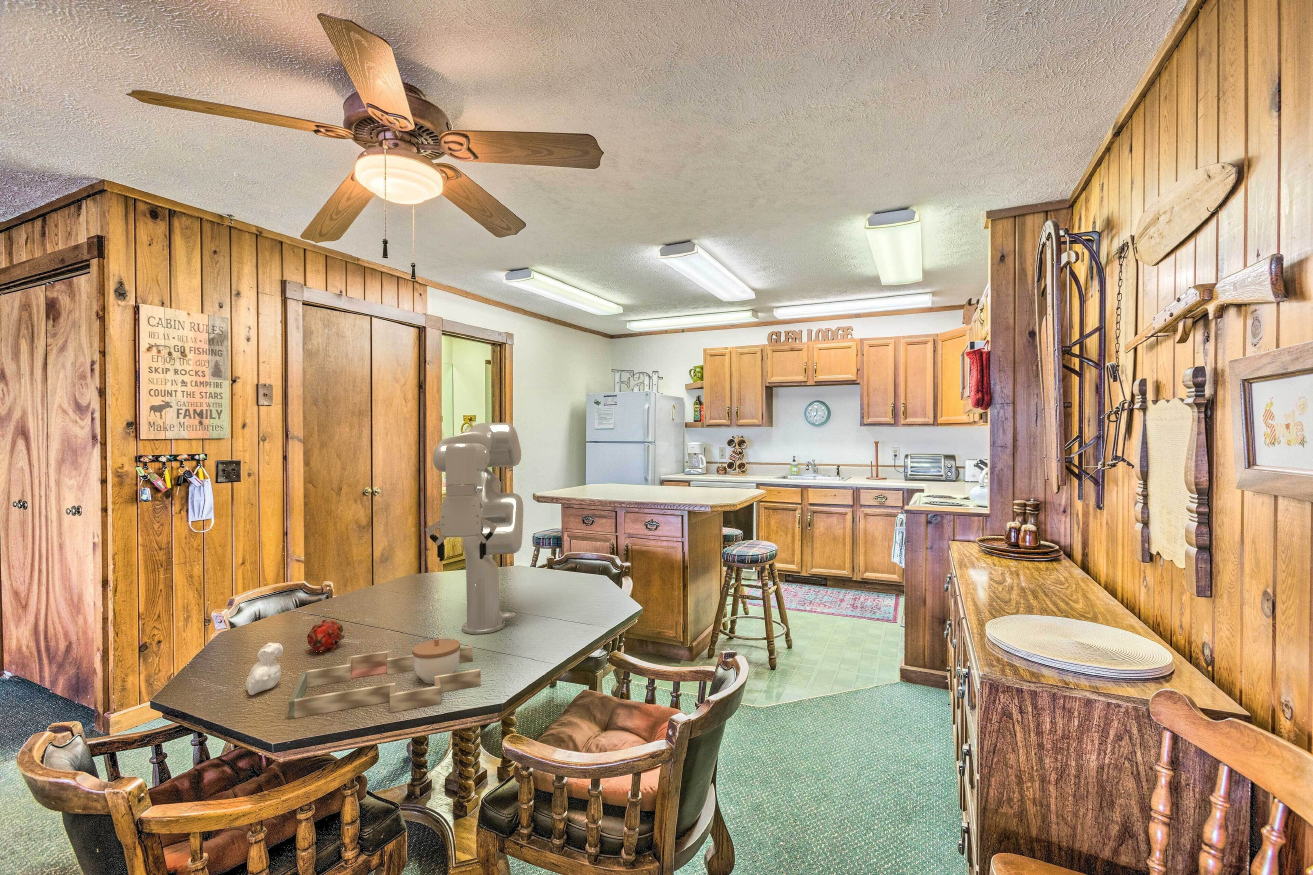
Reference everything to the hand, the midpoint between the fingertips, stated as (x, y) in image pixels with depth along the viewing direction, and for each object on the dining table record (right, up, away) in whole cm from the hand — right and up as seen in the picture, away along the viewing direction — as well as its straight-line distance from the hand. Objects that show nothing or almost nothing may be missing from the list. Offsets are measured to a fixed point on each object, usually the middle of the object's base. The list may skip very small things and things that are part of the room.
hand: (462, 559), depth 150 cm
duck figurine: (-42, -28, -12) cm, 52 cm away
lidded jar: (-3, -27, -9) cm, 28 cm away
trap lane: (-12, -27, -13) cm, 32 cm away
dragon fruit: (-42, -28, +13) cm, 52 cm away
